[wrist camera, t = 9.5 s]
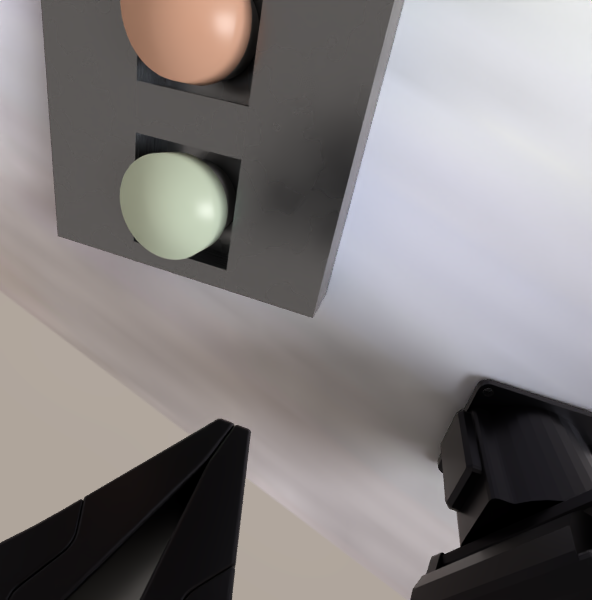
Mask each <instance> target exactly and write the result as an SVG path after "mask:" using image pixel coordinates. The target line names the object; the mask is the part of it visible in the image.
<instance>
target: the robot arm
mask: <svg viewBox="0 0 592 600" xmlns="http://www.w3.org/2000/svg"><path fill="white" fill-rule="evenodd" d="M487 388H491V389H492V390H491V391H490V392H485V391H483V390H484V389H487ZM250 435H251V431H250V430H249V429H247V428H244V427H242V426H239V425H235V426H234V424H233V423H231V422H229V421H226V420H223V419H217V420H215V421H213V422H212V423H210V424H208V425H207V426H205V427H203V428H202V429H200V430H198V431H196V432H195V433H193V434H191V435H190V436H188V437H186V438H184V439H183V440H181V441H179V442H178V443H176V444H174V445H173V446H171V447H169V448H167V449H166V450H164V451H162V452H161V453H159V454H157V455H156V456H154V457H152V458H150V459H149V460H147V461H145V462H144V463H142V464H140V465H138V466H137V467H135V468H133V469H132V470H130V471H128V472H127V473H125V474H123V475H121V476H120V477H118V478H116V479H115V480H113V481H111V482H109V483H108V484H106V485H104V486H103V487H101V488H99V489H98V490H96V491H94V492H92V493H91V494H89V495H87V496H86V497H85V498H84V500H82V499H80V500H79V501H77V502H75V503H73V504H72V505H70V506H68V507H67V508H65V509H63V510H61V511H60V512H58V513H56V514H54V515H52V516H51V517H49V518H47V519H45V520H43V521H42V522H40V523H38V524H36V525H34V526H32V527H30V528H29V529H27V530H25V531H23V532H21V533H19V534H17V535H15V536H13V537H11V538H9V539H7V540H5V541H3V542H1V543H0V600H232V593H233V583H234V575H235V564H236V555H237V547H238V539H239V530H240V520H241V513H242V504H243V495H244V487H245V478H246V470H247V461H248V452H249V444H250ZM438 468H439V470H440V471H441V472H442V473H443V478H444V490H445V502H446V504H447V506H448V508H449V509H452V510H454V511H457V520H458V529H459V538H460V548H457V549H455V550H453V551H451V552H448V553H446V554H444V553H439V554H437V555H435V556H432V558H431V560H430V563H429V567H428V570H427V573H426V575H423V576H422V577H421V579H420V580H419V581H418V583H417V584H416V585H415V587H414V588H413V590H412V595H411V600H592V413H591V412H588V411H585V410H582V409H579V408H576V407H573V406H569V405H566V404H563V403H560V402H557V401H554V400H551V399H548V398H545V397H542V396H539V395H535V394H532V393H529V392H526V391H523V390H520V389H517V388H514V387H511V386H508V385H505V384H502V383H498V382H495V381H492V380H482V381H480V382H479V383H478V384H477V386H476V388H475V390H474V392H473V394H472V396H471V398H470V399H469V401H468V403H467V405H466V407H465V409H464V410H461V411H459V412H457V413H456V415H455V417H454V419H453V421H452V423H451V425H450V427H449V429H448V431H447V433H446V435H445V437H444V439H443V441H442V443H441V455H440V457H439V459H438Z"/></svg>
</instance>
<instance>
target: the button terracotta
mask: <svg viewBox="0 0 592 600" xmlns="http://www.w3.org/2000/svg"><path fill="white" fill-rule="evenodd" d="M120 7H121V14H122V19H123V24H124V27H125V30H126V33H127V36H128V38H129V41H130V43H131V45H132V47H133V48H134V50H135V52H136V53H137V55H138V56H139V58H140V59H141V60H142V61H143V62H144V63H145V65H146V66H148V67H149V68H150V69H151V70H152V71H154V72H155V73H157V74H158V75H160V76H162V77H164V78H167V79H170V80H173V81H178V82H182V83H186V84H190V85H197V86H206V85H211V84H214V83H217V82H219V81H221V80H227V79H230V78H233V77H235V76H237V75H239V74H240V73H241V72H242V71H243V70H244V69H245V68H246V67H247V66H248V65H249V63H250V62H251V60H252V58H253V56H254V54H255V52H256V48H257V41H258V33H259V18H258V14H257V10H256V7H255V4H254V2H253V0H120Z"/></svg>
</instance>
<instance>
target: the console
mask: <svg viewBox="0 0 592 600" xmlns="http://www.w3.org/2000/svg"><path fill="white" fill-rule="evenodd" d="M253 2H254V4H255V7H256V10H257V14H258V18H259V33H258V41H257V48H256V52H255V54H254V56H253V58H252V60H251V62H250V63H249V65H248V66H247V67H246V68H245V69H244V70H243V71H242V72H241V73H240V74H239V75H237V76H235V77H233V78H230V79H227V80H221V81H219V82H217V83H214V84H211V85H206V86H197V85H190V84H186V83H182V82H178V81H173V80H170V79H167V78H164V77H162V76H160V75H158V74H157V73H155V72H154V71H152V70H151V69H150V68H149V67H148V66H146V65H145V63H144V62H143V61H142V60H141V59H140V58H139V56H138V55H137V53H136V52H135V50H134V48H133V47H132V45H131V43H130V41H129V38H128V36H127V33H126V30H125V27H124V24H123V19H122V14H121V7H120V0H41V7H42V21H43V35H44V49H45V63H46V77H47V91H48V105H49V119H50V133H51V147H52V161H53V175H54V189H55V203H56V216H57V230H58V236H60V237H63V238H66V239H69V240H72V241H75V242H79V243H82V244H85V245H88V246H91V247H94V248H97V249H100V250H103V251H107V252H110V253H113V254H116V255H119V256H122V257H125V258H128V259H131V260H134V261H138V262H141V263H144V264H147V265H150V266H153V267H156V268H159V269H162V270H166V271H169V272H172V273H175V274H178V275H181V276H184V277H187V278H190V279H194V280H197V281H200V282H203V283H206V284H209V285H212V286H215V287H218V288H221V289H225V290H228V291H231V292H234V293H237V294H240V295H243V296H246V297H249V298H253V299H256V300H259V301H262V302H265V303H268V304H271V305H274V306H277V307H280V308H284V309H287V310H290V311H293V312H296V313H299V314H302V315H305V316H308V317H312V318H313V316H314V315H315V313H316V311H317V309H318V308H319V306H320V304H321V302H322V300H323V299H324V297H325V295H326V292H327V289H328V285H329V281H330V277H331V274H332V270H333V266H334V262H335V259H336V255H337V251H338V247H339V244H340V240H341V236H342V232H343V229H344V225H345V221H346V217H347V214H348V210H349V206H350V202H351V199H352V195H353V191H354V187H355V184H356V180H357V176H358V172H359V169H360V165H361V161H362V157H363V154H364V150H365V146H366V142H367V139H368V135H369V131H370V127H371V124H372V120H373V116H374V112H375V109H376V105H377V101H378V97H379V94H380V90H381V86H382V82H383V79H384V75H385V71H386V67H387V64H388V60H389V56H390V52H391V49H392V45H393V41H394V37H395V34H396V30H397V26H398V22H399V19H400V15H401V11H402V7H403V4H404V0H253ZM165 152H183V153H188V154H191V155H193V156H195V157H197V158H199V159H201V160H206V161H209V162H211V163H213V164H215V165H217V166H218V167H220V168H221V169H222V170H223V171H224V172H225V173H226V175H227V176H228V177H229V179H230V181H231V183H232V185H233V187H234V190H235V195H236V204H235V211H234V217H233V219H232V221H231V222H230V224H229V225H228V226H227V227H226V228H225V229H224V230H223V232H222V234H221V236H220V237H219V239H218V240H217V241H216V242H215V243H213V244H212V245H211V246H209V247H207V248H206V249H204V250H202V251H200V252H198V253H196V254H194V255H193V256H191V257H188V258H185V259H180V260H171V259H166V258H162V257H159V256H157V255H155V254H153V253H151V252H150V251H148V250H147V249H145V248H144V247H143V246H142V245H141V244H140V243H139V242H138V241H137V240H136V239H135V237H134V236H133V235H132V233H131V232H130V230H129V228H128V226H127V224H126V222H125V220H124V217H123V214H122V210H121V205H120V187H121V182H122V179H123V176H124V174H125V172H126V171H127V169H128V168H129V166H130V165H131V164H132V163H133V162H134V161H135V160H137V159H138V158H140V157H142V156H144V155H147V154H152V153H165Z"/></svg>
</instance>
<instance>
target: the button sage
mask: <svg viewBox="0 0 592 600" xmlns="http://www.w3.org/2000/svg"><path fill="white" fill-rule="evenodd" d="M235 204H236V195H235V190H234V187H233V185H232V183H231V181H230V179H229V177H228V176H227V175H226V173H225V172H224V171H223V170H222V169H221V168H220V167H218V166H217V165H215V164H213V163H211V162H209V161H206V160H201V159H199V158H197V157H195V156H193V155H191V154H188V153H183V152H165V153H152V154H147V155H144V156H142V157H140V158H138V159H137V160H135V161H134V162H133V163H132V164H131V165H130V166H129V168H128V169H127V171H126V172H125V174H124V176H123V179H122V182H121V187H120V205H121V210H122V214H123V217H124V220H125V222H126V224H127V226H128V228H129V230H130V232H131V233H132V235H133V236H134V237H135V239H136V240H137V241H138V242H139V243H140V244H141V245H142V246H143V247H144V248H145V249H147V250H148V251H150V252H151V253H153V254H155V255H157V256H159V257H162V258H166V259H171V260H180V259H185V258H188V257H191V256H193V255H194V254H196V253H198V252H200V251H202V250H204V249H206V248H207V247H209V246H211V245H212V244H213V243H215V242H216V241H217V240H218V239H219V237H220V236H221V234H222V232H223V230H224V229H225V228H226V227H227V226H228V225H229V224H230V222H231V221H232V219H233V217H234V211H235Z"/></svg>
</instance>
